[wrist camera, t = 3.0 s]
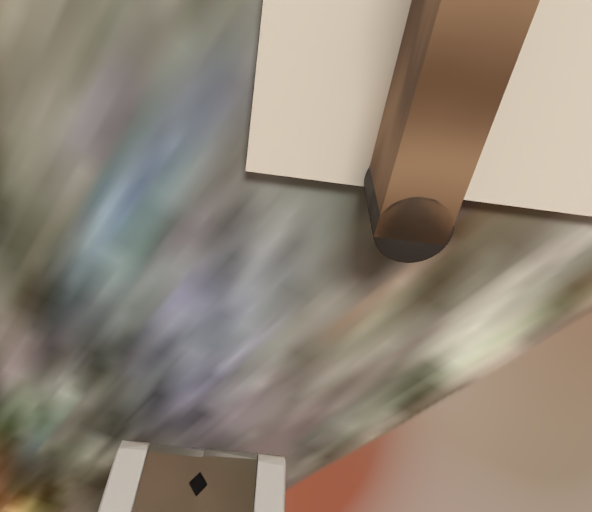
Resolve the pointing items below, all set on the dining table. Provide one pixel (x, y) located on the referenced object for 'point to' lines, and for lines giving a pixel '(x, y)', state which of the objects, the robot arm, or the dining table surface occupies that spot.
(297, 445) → the dining table surface
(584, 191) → the wall mounted roll holder
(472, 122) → the leg
